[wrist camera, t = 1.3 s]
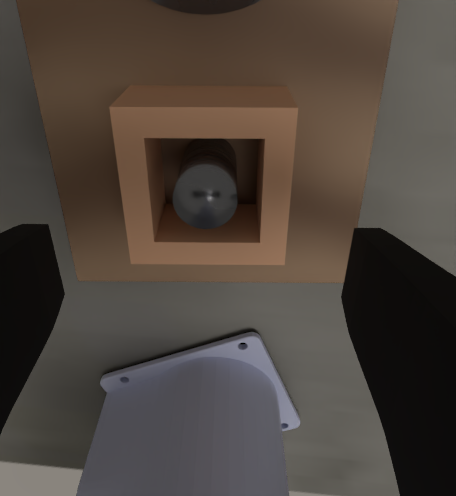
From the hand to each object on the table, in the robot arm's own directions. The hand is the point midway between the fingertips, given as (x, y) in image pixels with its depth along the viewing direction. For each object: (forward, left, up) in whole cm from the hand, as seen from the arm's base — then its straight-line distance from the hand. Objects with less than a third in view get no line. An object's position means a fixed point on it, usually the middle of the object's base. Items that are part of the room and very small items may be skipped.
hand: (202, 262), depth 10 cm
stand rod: (0, 0, -7) cm, 7 cm away
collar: (0, 0, -7) cm, 7 cm away
